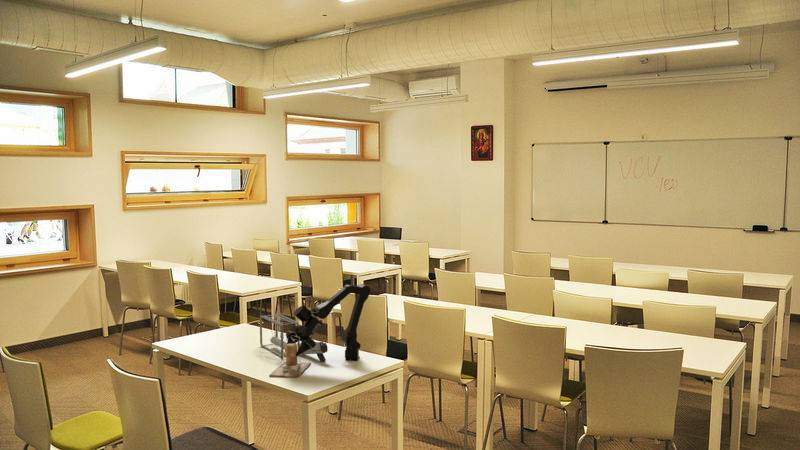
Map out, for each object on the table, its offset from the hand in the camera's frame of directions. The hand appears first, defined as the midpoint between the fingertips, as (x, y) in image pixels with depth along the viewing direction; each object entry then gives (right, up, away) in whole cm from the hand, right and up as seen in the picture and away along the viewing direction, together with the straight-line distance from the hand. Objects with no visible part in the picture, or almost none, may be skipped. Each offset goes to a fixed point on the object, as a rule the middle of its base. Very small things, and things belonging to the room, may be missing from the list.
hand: (290, 353), depth 294 cm
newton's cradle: (-13, -6, +37) cm, 40 cm away
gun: (+7, -7, +23) cm, 25 cm away
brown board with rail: (0, -8, +2) cm, 9 cm away
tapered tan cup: (0, -8, +1) cm, 8 cm away
